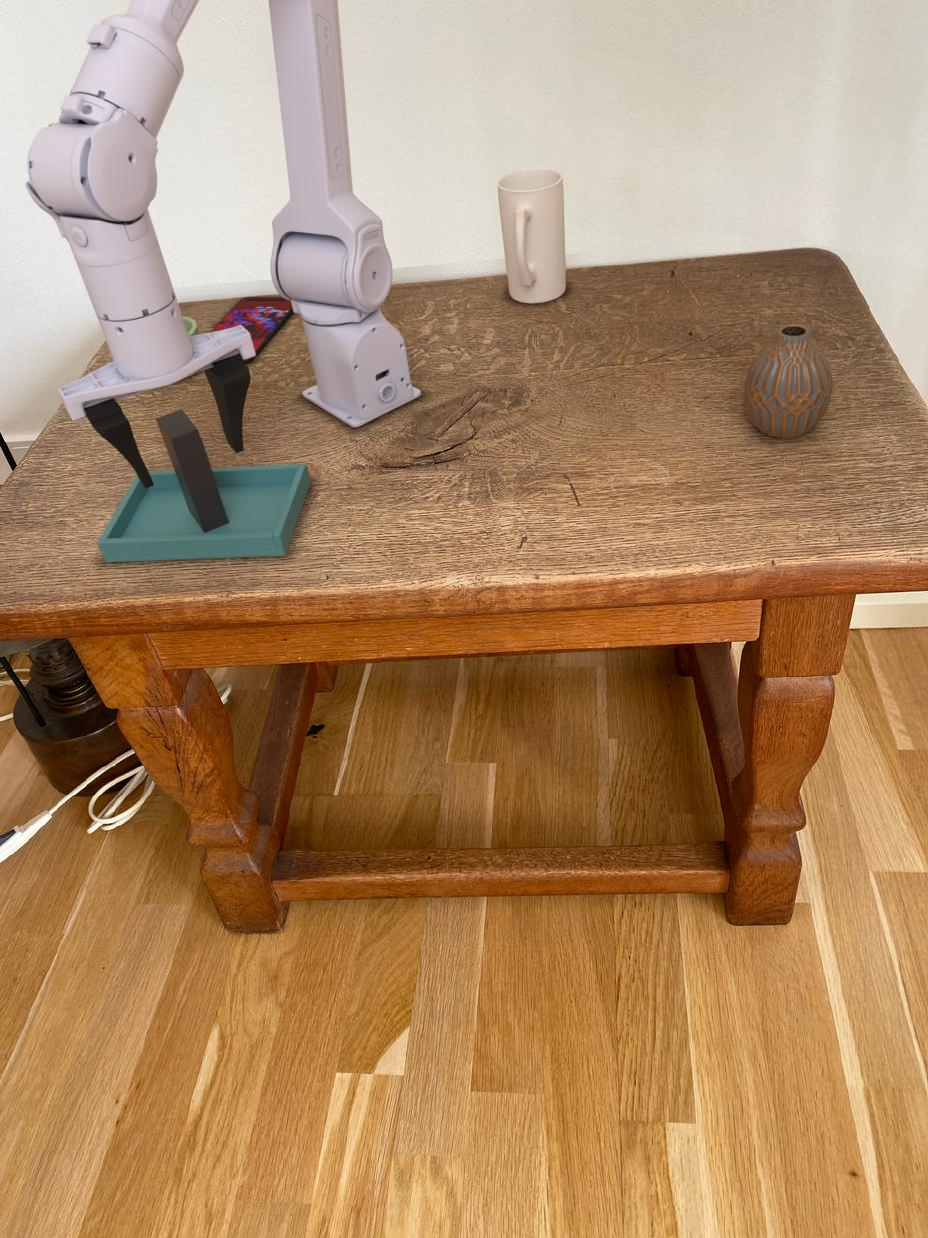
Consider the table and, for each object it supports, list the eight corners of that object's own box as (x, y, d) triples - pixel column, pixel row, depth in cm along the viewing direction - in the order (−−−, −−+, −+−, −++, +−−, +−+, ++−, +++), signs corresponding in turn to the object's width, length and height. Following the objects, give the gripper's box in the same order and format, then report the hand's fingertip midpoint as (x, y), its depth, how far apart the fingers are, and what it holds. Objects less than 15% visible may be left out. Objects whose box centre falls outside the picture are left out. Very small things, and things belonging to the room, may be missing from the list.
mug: (514, 278, 114) (505, 168, 106) (573, 278, 112) (568, 166, 104) (493, 318, 107) (481, 204, 99) (556, 319, 105) (549, 202, 97)
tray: (311, 482, 87) (306, 462, 86) (285, 555, 80) (279, 535, 79) (145, 490, 90) (138, 471, 88) (105, 562, 82) (96, 543, 81)
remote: (215, 500, 86) (184, 407, 80) (231, 522, 83) (200, 427, 78) (189, 511, 85) (155, 418, 79) (204, 533, 83) (170, 439, 77)
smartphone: (184, 359, 108) (242, 296, 118) (186, 367, 108) (244, 303, 119) (249, 361, 106) (302, 296, 116) (251, 369, 106) (304, 303, 116)
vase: (735, 408, 88) (741, 314, 83) (816, 401, 88) (828, 306, 82) (749, 451, 83) (757, 354, 77) (835, 444, 83) (849, 346, 77)
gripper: (212, 257, 77) (256, 413, 86) (23, 317, 73) (91, 475, 82) (244, 285, 72) (288, 447, 81) (44, 351, 68) (114, 515, 77)
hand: (191, 464), depth 81 cm, fingers open, 7 cm apart
